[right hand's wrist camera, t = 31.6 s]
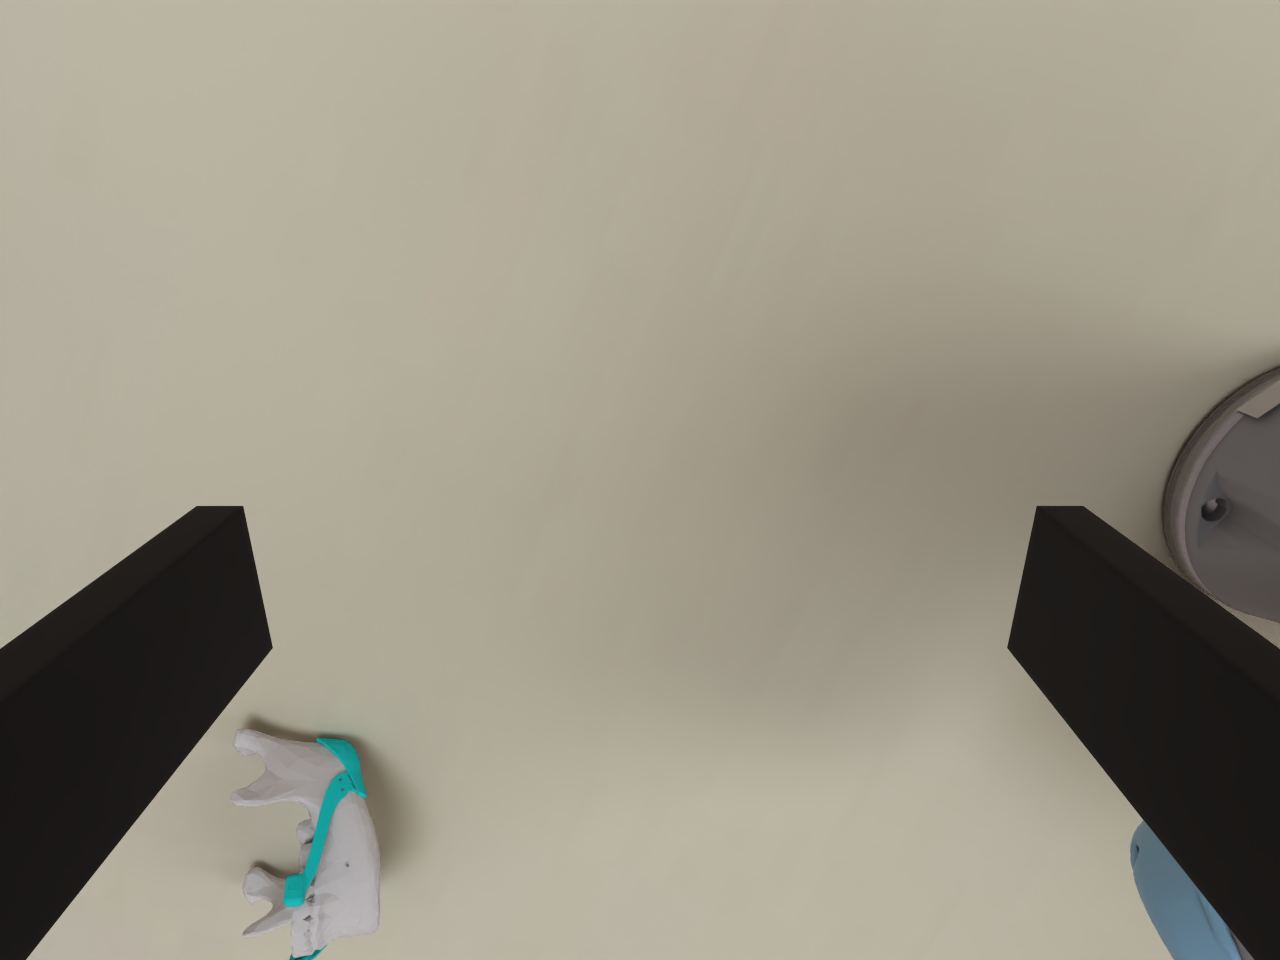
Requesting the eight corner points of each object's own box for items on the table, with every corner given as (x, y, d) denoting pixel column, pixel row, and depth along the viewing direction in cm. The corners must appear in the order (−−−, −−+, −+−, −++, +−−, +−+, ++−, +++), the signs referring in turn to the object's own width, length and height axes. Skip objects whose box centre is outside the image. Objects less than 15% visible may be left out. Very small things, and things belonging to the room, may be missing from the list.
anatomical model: (376, 1021, 47) (198, 1041, 44) (394, 878, 56) (247, 888, 54) (375, 834, 41) (171, 847, 39) (395, 710, 51) (232, 715, 49)
